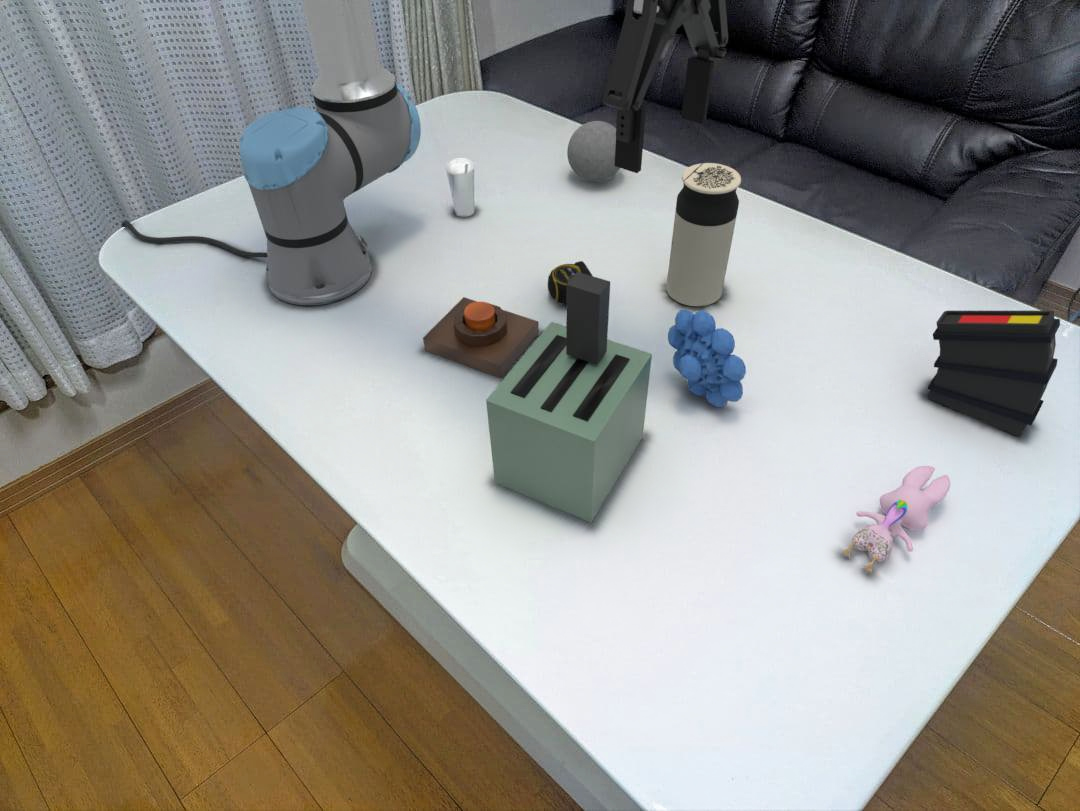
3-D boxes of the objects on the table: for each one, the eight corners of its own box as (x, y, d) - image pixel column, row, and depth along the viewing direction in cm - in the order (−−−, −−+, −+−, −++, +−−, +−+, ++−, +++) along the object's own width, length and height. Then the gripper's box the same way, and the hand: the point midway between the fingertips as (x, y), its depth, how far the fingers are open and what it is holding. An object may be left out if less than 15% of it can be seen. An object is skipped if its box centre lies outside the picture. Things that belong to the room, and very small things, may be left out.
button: (459, 325, 96) (457, 314, 95) (475, 308, 99) (474, 298, 97) (485, 334, 95) (484, 323, 94) (501, 317, 97) (500, 306, 96)
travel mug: (732, 289, 106) (755, 174, 93) (701, 315, 102) (720, 199, 89) (686, 268, 110) (703, 155, 97) (655, 292, 106) (667, 178, 93)
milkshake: (459, 224, 120) (453, 167, 113) (447, 209, 124) (440, 153, 117) (484, 217, 122) (479, 160, 115) (471, 202, 125) (466, 146, 118)
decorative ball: (627, 167, 132) (631, 113, 125) (619, 195, 126) (622, 139, 119) (573, 163, 134) (573, 108, 127) (562, 190, 127) (561, 134, 120)
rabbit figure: (880, 591, 73) (963, 497, 78) (893, 564, 68) (981, 466, 73) (825, 551, 76) (909, 463, 81) (835, 523, 72) (923, 431, 77)
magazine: (1056, 443, 82) (1049, 326, 75) (930, 429, 92) (914, 325, 85) (1065, 424, 84) (1059, 309, 77) (940, 412, 94) (926, 309, 87)
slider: (566, 354, 77) (566, 284, 70) (576, 341, 78) (577, 271, 72) (597, 365, 76) (600, 294, 69) (606, 351, 77) (610, 281, 71)
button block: (424, 350, 98) (420, 327, 95) (465, 309, 104) (462, 286, 102) (501, 378, 94) (499, 355, 91) (538, 333, 100) (538, 310, 97)
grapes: (641, 384, 93) (648, 309, 84) (678, 361, 96) (689, 286, 87) (711, 436, 86) (727, 360, 78) (748, 409, 89) (768, 333, 81)
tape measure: (602, 304, 104) (603, 283, 102) (556, 314, 103) (556, 293, 100) (585, 278, 109) (586, 256, 106) (541, 287, 108) (541, 266, 105)
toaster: (494, 482, 82) (485, 398, 73) (553, 403, 91) (551, 319, 81) (591, 523, 78) (594, 440, 69) (642, 436, 86) (652, 352, 77)
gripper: (647, -53, 55) (628, 202, 70) (787, -116, 68) (747, 110, 83) (565, -67, 58) (564, 180, 73) (715, -124, 72) (688, 94, 87)
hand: (662, 143), depth 78 cm, fingers open, 13 cm apart
